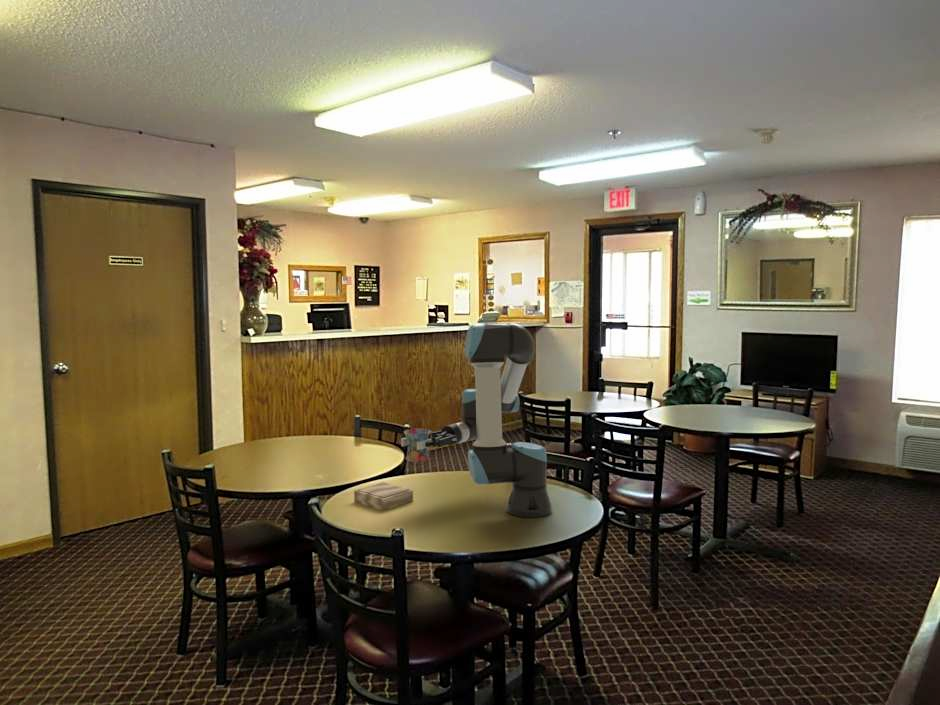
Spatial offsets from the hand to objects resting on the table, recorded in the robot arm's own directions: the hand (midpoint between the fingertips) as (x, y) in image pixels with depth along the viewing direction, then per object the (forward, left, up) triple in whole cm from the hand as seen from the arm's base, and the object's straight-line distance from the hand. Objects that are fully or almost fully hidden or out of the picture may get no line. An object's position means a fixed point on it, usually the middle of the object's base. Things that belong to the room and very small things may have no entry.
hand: (409, 444), depth 226 cm
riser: (+12, +2, -22) cm, 26 cm away
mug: (0, -5, -7) cm, 8 cm away
